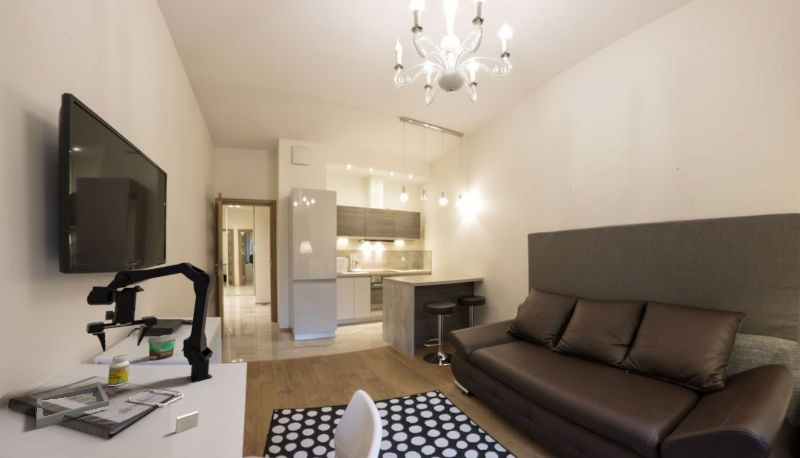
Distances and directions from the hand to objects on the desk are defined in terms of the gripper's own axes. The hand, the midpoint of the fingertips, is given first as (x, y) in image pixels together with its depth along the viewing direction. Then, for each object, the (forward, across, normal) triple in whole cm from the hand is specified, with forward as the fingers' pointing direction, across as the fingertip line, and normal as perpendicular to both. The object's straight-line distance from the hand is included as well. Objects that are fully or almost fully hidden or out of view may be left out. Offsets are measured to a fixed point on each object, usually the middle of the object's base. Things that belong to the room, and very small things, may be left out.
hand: (121, 348), depth 110 cm
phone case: (+13, -6, +24) cm, 28 cm away
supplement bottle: (+13, 0, 0) cm, 13 cm away
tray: (+12, +12, +13) cm, 22 cm away
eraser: (+13, -7, +51) cm, 53 cm away
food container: (+13, -19, -23) cm, 32 cm away
